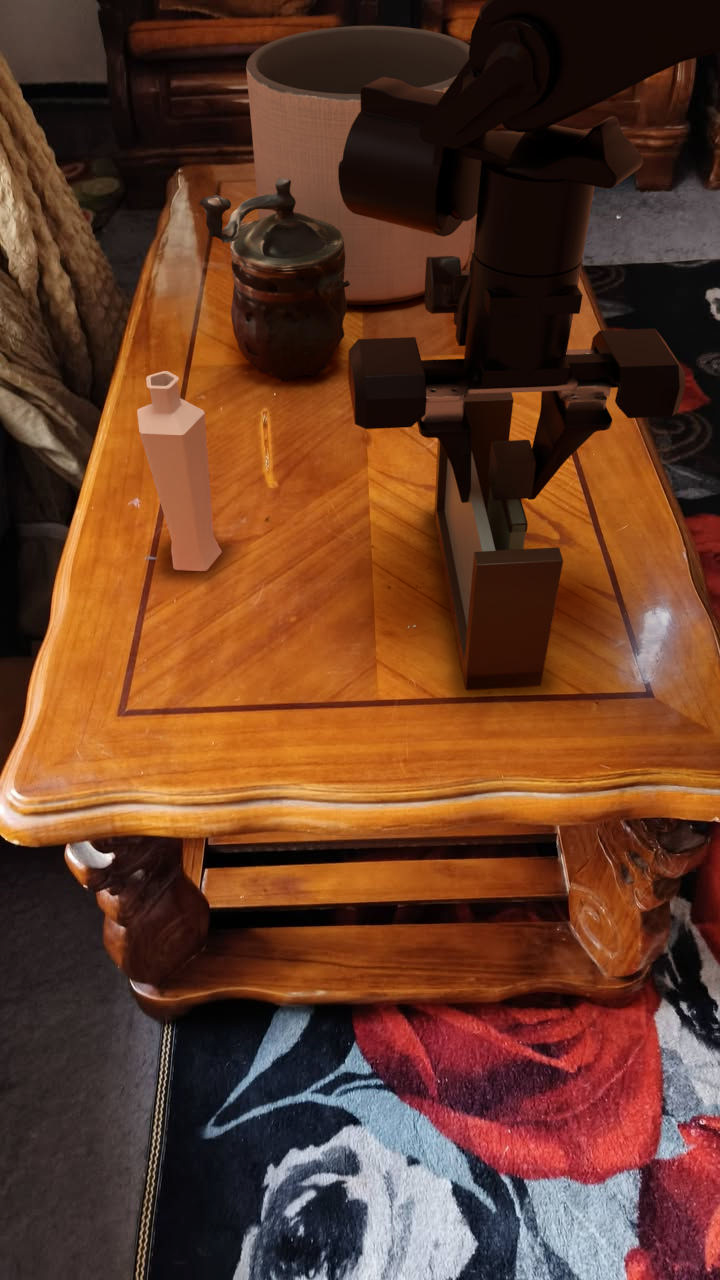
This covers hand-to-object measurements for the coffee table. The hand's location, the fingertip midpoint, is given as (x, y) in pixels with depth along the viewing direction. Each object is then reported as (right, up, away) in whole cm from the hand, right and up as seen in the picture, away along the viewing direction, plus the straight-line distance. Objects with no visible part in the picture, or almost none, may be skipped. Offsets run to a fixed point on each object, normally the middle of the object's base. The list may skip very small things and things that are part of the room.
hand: (496, 497), depth 61 cm
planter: (-8, +32, +44) cm, 55 cm away
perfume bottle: (-21, -3, +11) cm, 24 cm away
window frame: (0, -6, +8) cm, 10 cm away
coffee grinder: (-16, +16, +29) cm, 37 cm away
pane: (+1, -5, +6) cm, 8 cm away
